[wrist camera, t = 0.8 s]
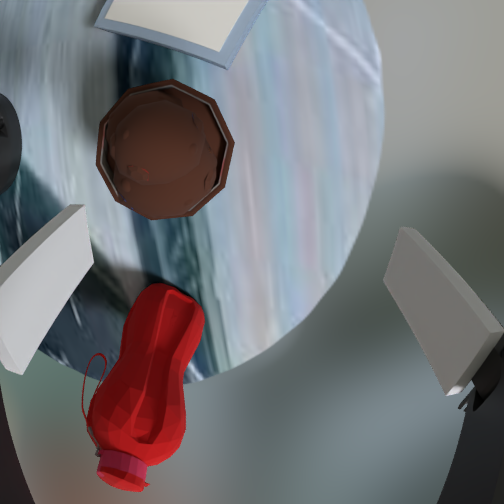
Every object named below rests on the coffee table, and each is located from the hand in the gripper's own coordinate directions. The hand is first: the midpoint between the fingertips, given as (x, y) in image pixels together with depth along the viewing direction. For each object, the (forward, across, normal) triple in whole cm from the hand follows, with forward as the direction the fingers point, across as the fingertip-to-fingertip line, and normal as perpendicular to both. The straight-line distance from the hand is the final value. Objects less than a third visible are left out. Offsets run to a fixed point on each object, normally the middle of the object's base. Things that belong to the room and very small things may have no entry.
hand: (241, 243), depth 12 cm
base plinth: (+21, -6, +17) cm, 28 cm away
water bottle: (+21, -9, -21) cm, 31 cm away
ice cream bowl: (+21, -6, +1) cm, 22 cm away
